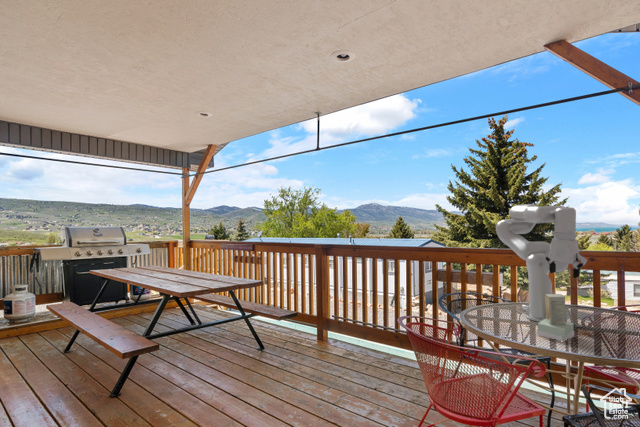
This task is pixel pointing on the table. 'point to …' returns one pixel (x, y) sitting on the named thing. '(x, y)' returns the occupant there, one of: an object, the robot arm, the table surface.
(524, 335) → the table surface
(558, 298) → the skincare box
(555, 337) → the bottom slab
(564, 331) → the top slab
